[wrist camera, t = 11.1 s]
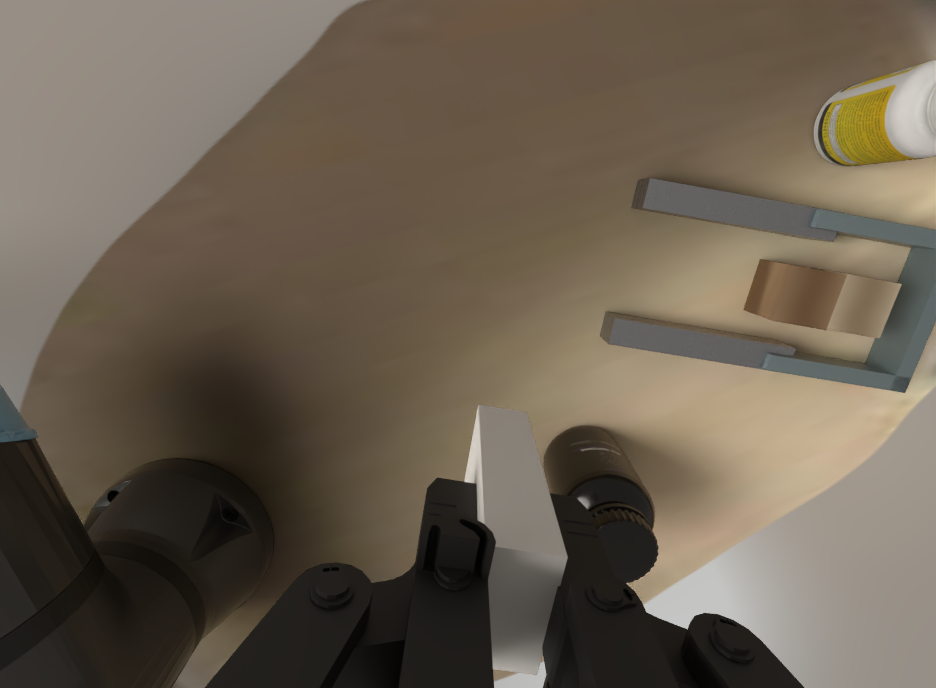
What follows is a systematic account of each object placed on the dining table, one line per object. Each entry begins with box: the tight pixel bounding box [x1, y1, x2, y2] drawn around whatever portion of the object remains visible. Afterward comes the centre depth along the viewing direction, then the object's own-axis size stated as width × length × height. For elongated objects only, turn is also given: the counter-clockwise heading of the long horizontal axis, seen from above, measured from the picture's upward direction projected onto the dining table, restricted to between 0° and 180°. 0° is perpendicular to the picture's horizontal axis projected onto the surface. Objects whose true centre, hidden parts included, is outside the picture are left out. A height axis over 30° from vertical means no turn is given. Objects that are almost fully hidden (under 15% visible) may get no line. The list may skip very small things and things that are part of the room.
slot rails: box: [600, 178, 842, 370], centre depth 37 cm, size 14×12×2 cm
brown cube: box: [744, 259, 847, 330], centre depth 37 cm, size 4×4×4 cm
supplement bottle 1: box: [544, 426, 658, 583], centre depth 37 cm, size 7×7×12 cm
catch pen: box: [762, 210, 936, 393], centre depth 37 cm, size 11×12×3 cm
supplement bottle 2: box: [814, 60, 936, 166], centre depth 31 cm, size 5×5×10 cm
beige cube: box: [811, 268, 902, 338], centre depth 37 cm, size 4×4×4 cm
